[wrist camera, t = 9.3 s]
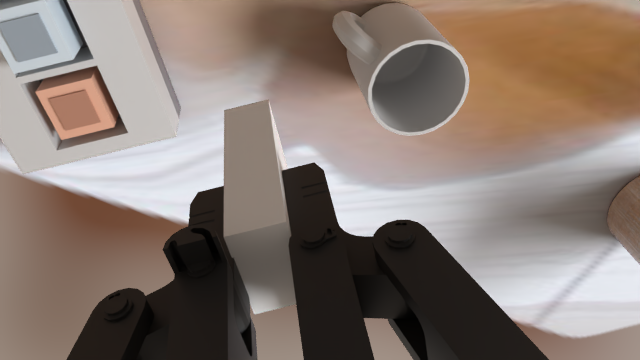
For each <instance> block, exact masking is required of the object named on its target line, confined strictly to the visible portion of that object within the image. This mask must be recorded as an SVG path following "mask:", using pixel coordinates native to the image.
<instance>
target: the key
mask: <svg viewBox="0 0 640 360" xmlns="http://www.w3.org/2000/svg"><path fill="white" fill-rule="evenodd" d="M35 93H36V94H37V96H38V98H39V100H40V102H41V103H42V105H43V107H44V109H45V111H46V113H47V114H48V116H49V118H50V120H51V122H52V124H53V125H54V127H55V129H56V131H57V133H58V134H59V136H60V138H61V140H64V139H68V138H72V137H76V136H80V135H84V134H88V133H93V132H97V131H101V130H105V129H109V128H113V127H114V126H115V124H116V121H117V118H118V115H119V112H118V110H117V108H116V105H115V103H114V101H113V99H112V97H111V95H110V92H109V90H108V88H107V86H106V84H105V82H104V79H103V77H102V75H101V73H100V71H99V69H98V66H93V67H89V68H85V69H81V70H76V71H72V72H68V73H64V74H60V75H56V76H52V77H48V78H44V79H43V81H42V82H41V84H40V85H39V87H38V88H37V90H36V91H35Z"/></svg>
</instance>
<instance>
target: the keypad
mask: <svg viewBox="0 0 640 360" xmlns="http://www.w3.org/2000/svg"><path fill="white" fill-rule="evenodd" d="M63 1H64V3H65V6H66V8H67V10H68V12H69V14H70V16H71V18H72V21H73V23H74V25H75V27H76V29H77V31H78V33H79V36H80V38H81V40H82V42H83V45H82V46H81V48H80V49H79V51H78V53H77V54H76V56H75V58H74V59H73V60H69V61H65V62H61V63H57V64H53V65H49V66H45V67H41V68H37V69H33V70H28V71H24V72H20V73H16V74H14V73H13V71H12V69H11V68H10V66H9V64H8V62H7V61H6V59H5V57H4V55H3V53H2V52H1V50H0V139H1V140H2V142H3V144H4V145H5V147H6V148H7V150H8V152H9V153H10V155H11V156H12V158H13V160H14V161H15V163H16V164H17V166H18V168H19V169H20V171H21V172H22V174H26V173H30V172H34V171H38V170H43V169H47V168H51V167H55V166H59V165H63V164H67V163H71V162H75V161H79V160H83V159H87V158H91V157H95V156H99V155H104V154H108V153H112V152H116V151H120V150H124V149H128V148H132V147H136V146H140V145H144V144H148V143H152V142H156V141H161V140H165V139H169V138H173V137H176V135H177V129H178V122H179V115H180V109H181V107H180V104H179V102H178V99H177V96H176V94H175V91H174V89H173V86H172V84H171V81H170V78H169V76H168V73H167V71H166V68H165V65H164V63H163V60H162V58H161V55H160V53H159V50H158V47H157V45H156V42H155V40H154V37H153V34H152V32H151V29H150V27H149V24H148V22H147V19H146V16H145V14H144V11H143V9H142V6H141V3H140V1H139V0H63ZM93 66H98V69H99V71H100V73H101V75H102V77H103V79H104V82H105V84H106V86H107V88H108V90H109V92H110V95H111V97H112V99H113V101H114V103H115V105H116V108H117V110H118V112H119V115H118V118H117V121H116V124H115V126H114V127H113V128H109V129H105V130H101V131H97V132H93V133H88V134H84V135H80V136H76V137H72V138H68V139H64V140H61V138H60V136H59V134H58V133H57V131H56V129H55V127H54V125H53V124H52V122H51V120H50V118H49V116H48V114H47V113H46V111H45V109H44V107H43V105H42V103H41V102H40V100H39V98H38V96H37V94H36V93H35V91H36V90H37V88H38V87H39V85H40V84H41V82H42V81H43V79H44V78H48V77H52V76H56V75H60V74H64V73H68V72H72V71H76V70H81V69H85V68H89V67H93Z"/></svg>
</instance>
